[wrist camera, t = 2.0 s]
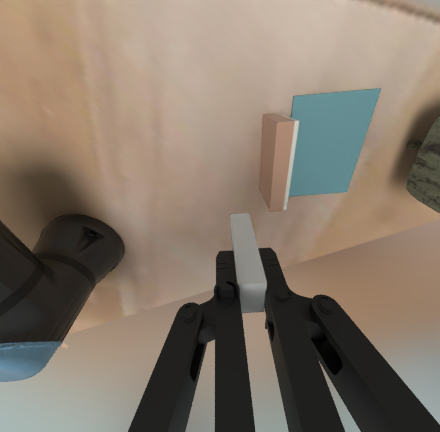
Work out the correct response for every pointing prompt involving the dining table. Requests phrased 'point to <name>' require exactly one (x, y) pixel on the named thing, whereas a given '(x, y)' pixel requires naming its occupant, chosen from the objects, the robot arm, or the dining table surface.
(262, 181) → the tile
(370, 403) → the robot arm
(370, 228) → the dining table surface
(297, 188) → the felt mat
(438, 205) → the tabletop clock
